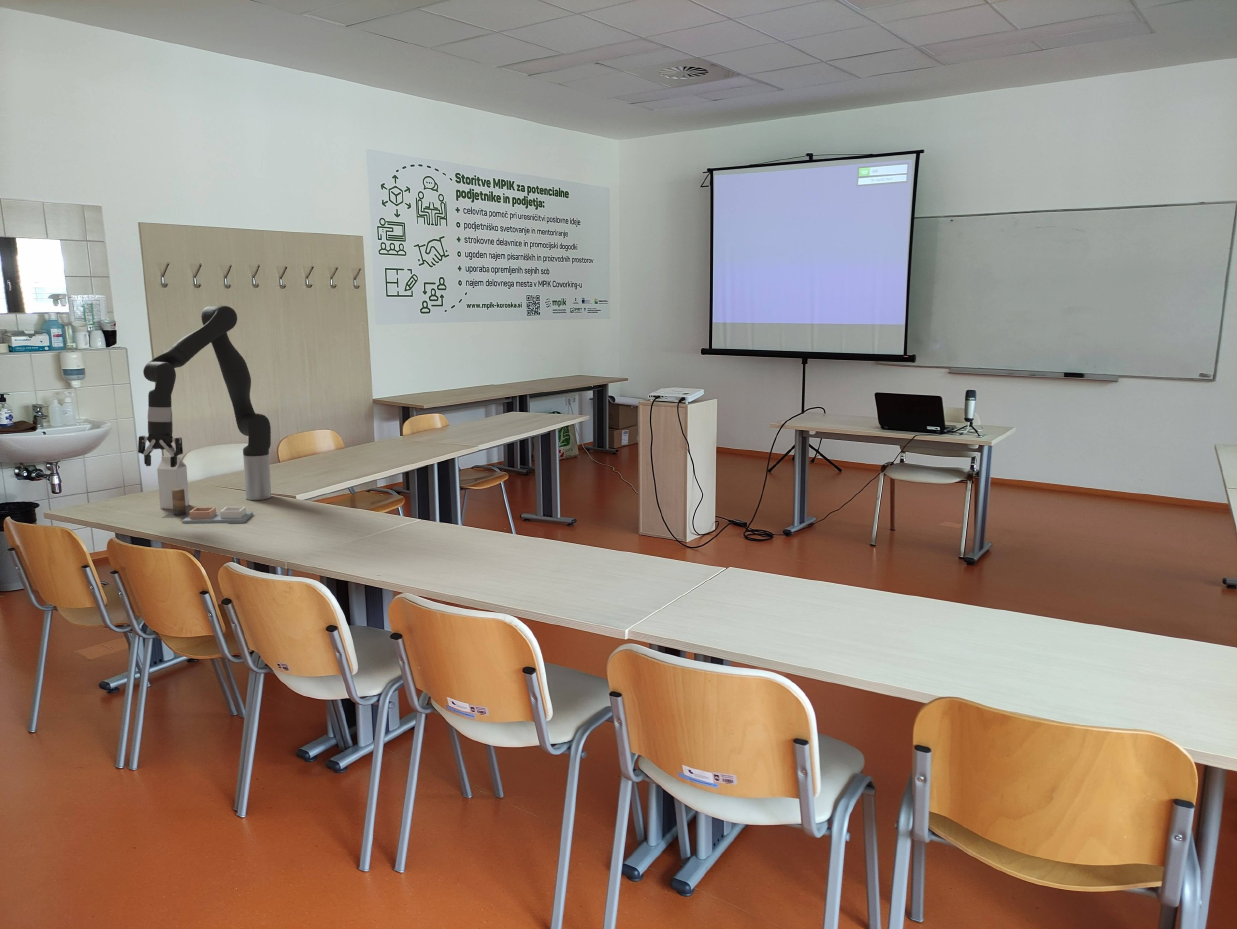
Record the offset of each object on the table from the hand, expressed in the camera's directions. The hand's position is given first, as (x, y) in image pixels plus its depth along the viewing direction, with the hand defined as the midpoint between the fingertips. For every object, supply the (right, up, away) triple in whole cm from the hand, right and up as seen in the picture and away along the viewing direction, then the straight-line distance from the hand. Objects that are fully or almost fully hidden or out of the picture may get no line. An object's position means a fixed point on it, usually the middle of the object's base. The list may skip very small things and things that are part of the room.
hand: (160, 466), depth 295 cm
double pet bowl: (+18, -19, +3) cm, 26 cm away
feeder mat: (+2, -17, +8) cm, 19 cm away
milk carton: (-5, -15, +20) cm, 26 cm away
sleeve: (+2, -17, +8) cm, 19 cm away
